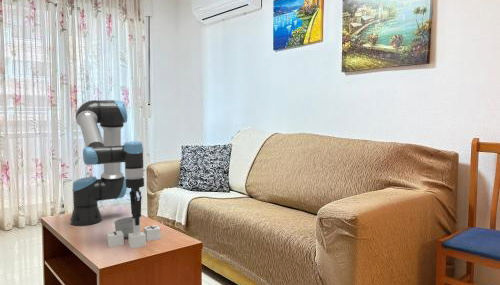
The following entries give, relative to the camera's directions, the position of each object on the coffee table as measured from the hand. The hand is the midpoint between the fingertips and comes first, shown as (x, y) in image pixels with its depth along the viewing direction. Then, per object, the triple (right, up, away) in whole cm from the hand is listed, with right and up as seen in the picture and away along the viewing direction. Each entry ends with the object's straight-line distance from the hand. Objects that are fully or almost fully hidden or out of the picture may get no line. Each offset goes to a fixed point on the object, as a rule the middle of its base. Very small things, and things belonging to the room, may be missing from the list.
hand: (136, 232), depth 160 cm
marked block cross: (+4, -5, +10) cm, 12 cm away
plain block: (0, -6, +1) cm, 6 cm away
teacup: (-8, -5, +15) cm, 17 cm away
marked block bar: (-10, -6, +2) cm, 12 cm away
